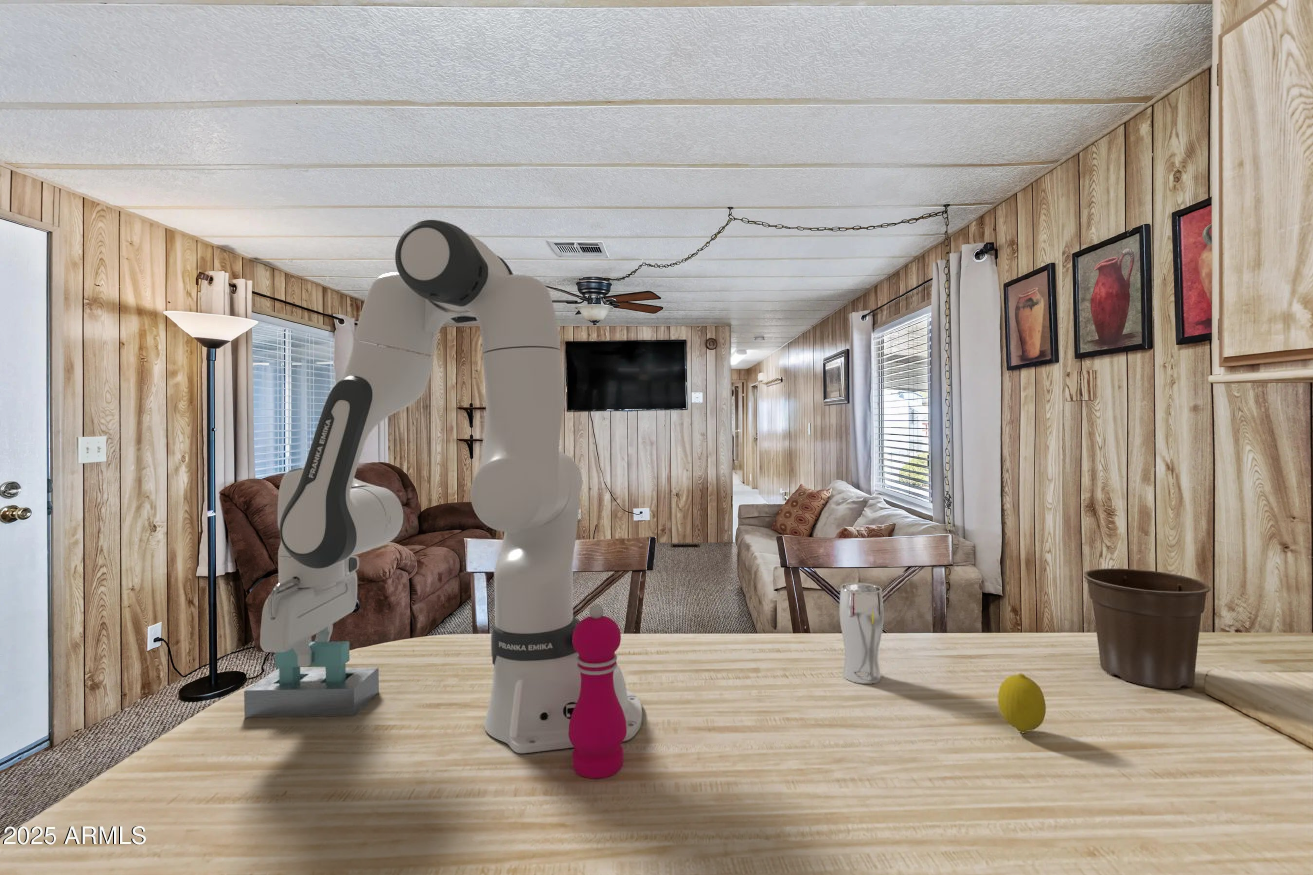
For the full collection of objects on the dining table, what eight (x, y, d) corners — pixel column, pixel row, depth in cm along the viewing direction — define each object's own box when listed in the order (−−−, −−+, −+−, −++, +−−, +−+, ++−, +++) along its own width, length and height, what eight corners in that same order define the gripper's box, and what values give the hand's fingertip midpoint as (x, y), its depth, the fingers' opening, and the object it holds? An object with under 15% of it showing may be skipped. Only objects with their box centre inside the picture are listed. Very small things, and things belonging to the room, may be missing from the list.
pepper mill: (618, 784, 70) (616, 614, 70) (560, 777, 71) (558, 611, 71) (633, 751, 77) (631, 597, 77) (579, 746, 79) (578, 595, 78)
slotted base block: (378, 691, 96) (378, 667, 96) (354, 715, 88) (353, 688, 88) (278, 693, 96) (277, 668, 95) (244, 717, 88) (244, 690, 87)
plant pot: (1099, 686, 95) (1099, 585, 95) (1073, 651, 110) (1073, 564, 110) (1231, 703, 89) (1231, 595, 89) (1184, 664, 104) (1184, 571, 104)
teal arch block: (349, 692, 93) (349, 641, 93) (341, 699, 91) (341, 646, 90) (285, 693, 93) (284, 641, 93) (275, 700, 90) (274, 647, 90)
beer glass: (887, 673, 101) (887, 585, 101) (878, 688, 95) (878, 595, 95) (846, 665, 105) (845, 580, 105) (834, 679, 99) (834, 589, 99)
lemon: (1042, 727, 82) (1041, 669, 82) (1049, 746, 77) (1048, 685, 77) (996, 719, 85) (995, 663, 85) (1000, 737, 80) (999, 678, 80)
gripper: (292, 587, 81) (294, 688, 81) (364, 556, 102) (365, 637, 102) (245, 588, 81) (247, 689, 81) (326, 556, 101) (327, 637, 102)
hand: (313, 659), depth 92 cm, fingers closed on teal arch block, 2 cm apart
